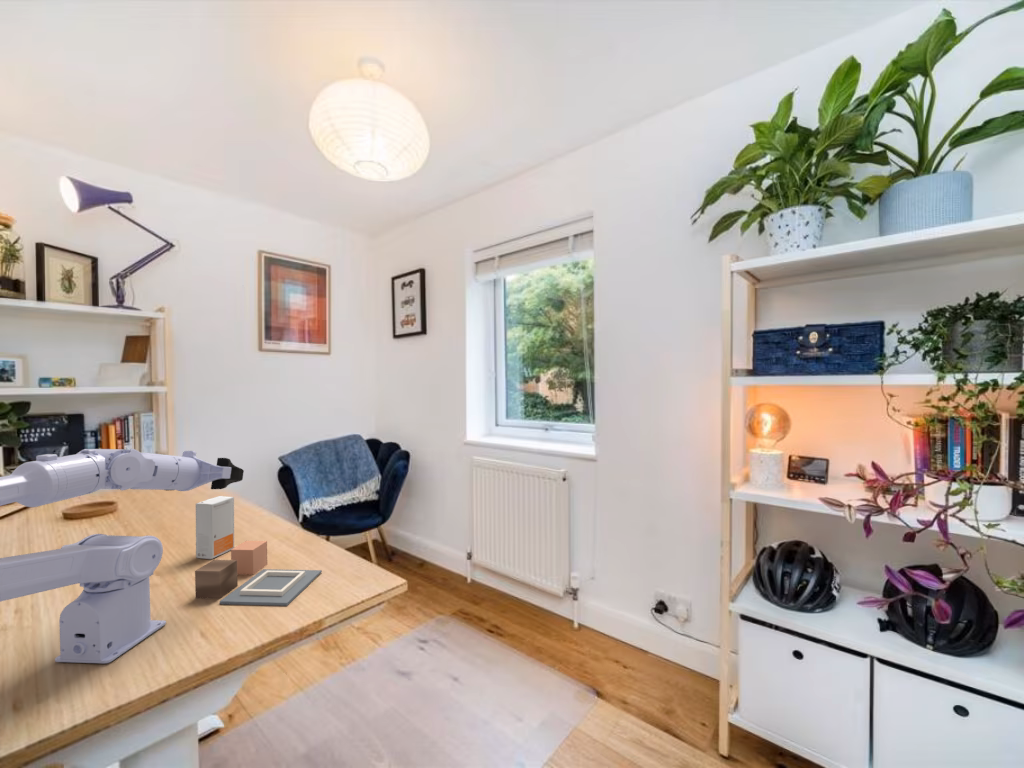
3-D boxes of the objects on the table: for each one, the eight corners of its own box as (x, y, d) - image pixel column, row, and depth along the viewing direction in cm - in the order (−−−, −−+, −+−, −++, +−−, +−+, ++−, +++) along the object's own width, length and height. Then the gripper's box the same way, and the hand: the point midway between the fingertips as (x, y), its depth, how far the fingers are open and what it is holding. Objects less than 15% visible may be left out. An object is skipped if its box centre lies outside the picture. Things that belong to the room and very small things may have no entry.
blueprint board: (287, 605, 73) (287, 598, 73) (219, 604, 73) (219, 596, 73) (321, 572, 85) (321, 566, 85) (263, 571, 85) (263, 565, 85)
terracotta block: (253, 574, 84) (252, 550, 84) (231, 574, 84) (230, 549, 84) (267, 564, 89) (267, 541, 89) (246, 564, 89) (246, 540, 89)
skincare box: (212, 560, 91) (210, 504, 90) (195, 558, 92) (194, 503, 91) (235, 548, 97) (234, 496, 96) (220, 547, 98) (219, 495, 97)
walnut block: (220, 599, 75) (219, 571, 75) (195, 598, 75) (194, 570, 75) (237, 586, 80) (237, 560, 80) (214, 585, 80) (213, 559, 80)
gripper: (207, 446, 71) (260, 454, 85) (127, 449, 73) (192, 456, 86) (200, 489, 70) (255, 490, 83) (118, 491, 71) (186, 492, 84)
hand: (223, 475), depth 84 cm, fingers open, 7 cm apart
